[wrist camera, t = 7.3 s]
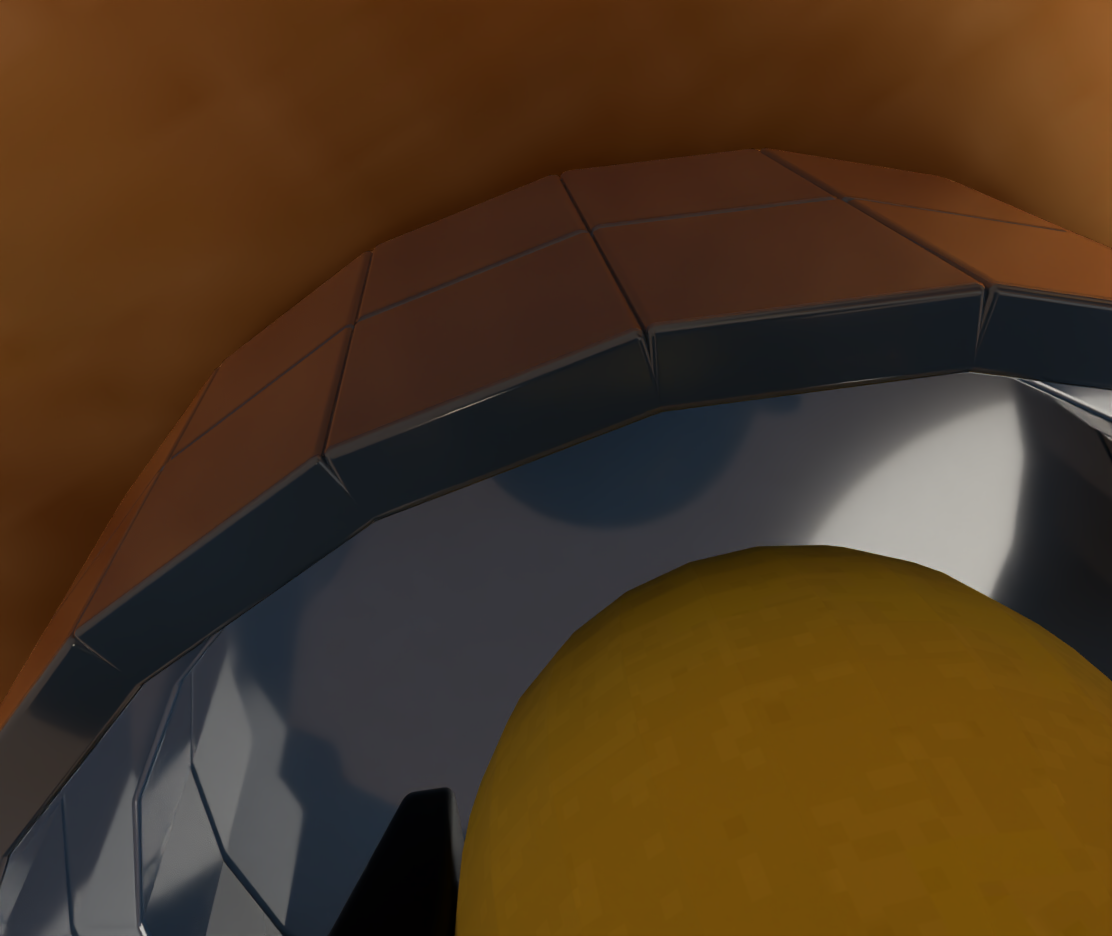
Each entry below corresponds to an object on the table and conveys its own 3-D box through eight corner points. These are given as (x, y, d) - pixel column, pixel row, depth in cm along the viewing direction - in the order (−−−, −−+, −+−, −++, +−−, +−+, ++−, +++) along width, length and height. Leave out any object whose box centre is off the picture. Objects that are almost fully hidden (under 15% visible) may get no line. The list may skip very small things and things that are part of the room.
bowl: (1118, 984, 19) (1355, 1345, 14) (254, 1124, 18) (184, 1558, 13) (1356, 66, 11) (2064, 147, 6) (-108, 240, 10) (-590, 484, 6)
